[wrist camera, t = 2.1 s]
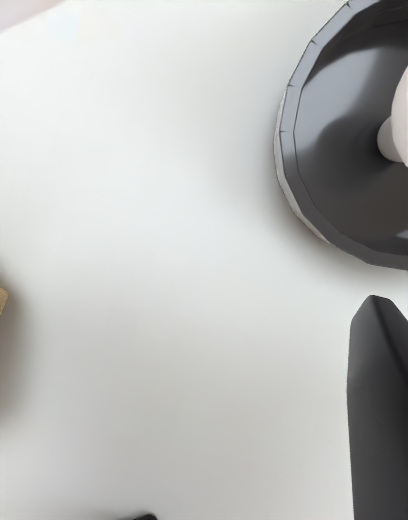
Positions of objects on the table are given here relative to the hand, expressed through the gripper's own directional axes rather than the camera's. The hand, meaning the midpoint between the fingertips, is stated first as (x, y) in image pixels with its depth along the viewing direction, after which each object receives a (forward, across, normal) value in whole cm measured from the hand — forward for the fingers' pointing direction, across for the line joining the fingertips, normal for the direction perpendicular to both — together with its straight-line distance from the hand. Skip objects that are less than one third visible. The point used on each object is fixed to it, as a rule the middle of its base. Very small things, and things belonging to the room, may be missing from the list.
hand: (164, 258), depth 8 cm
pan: (+15, -9, +2) cm, 18 cm away
